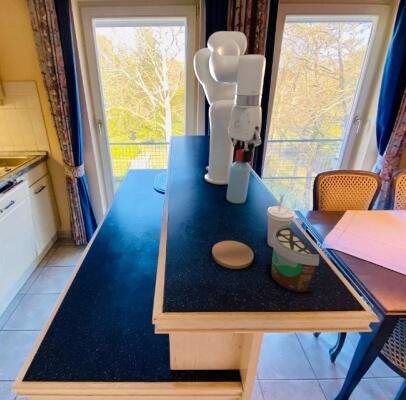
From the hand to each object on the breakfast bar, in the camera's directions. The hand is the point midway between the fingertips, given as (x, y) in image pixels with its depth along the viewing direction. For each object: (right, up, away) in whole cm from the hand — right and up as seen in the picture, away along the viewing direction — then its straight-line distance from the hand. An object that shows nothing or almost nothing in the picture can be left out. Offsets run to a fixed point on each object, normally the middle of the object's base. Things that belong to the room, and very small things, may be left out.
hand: (241, 159), depth 87 cm
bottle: (0, -13, +7) cm, 15 cm away
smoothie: (+4, -25, -18) cm, 31 cm away
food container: (+1, -30, -29) cm, 42 cm away
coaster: (-8, -27, -22) cm, 36 cm away
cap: (0, 0, 0) cm, 0 cm away
